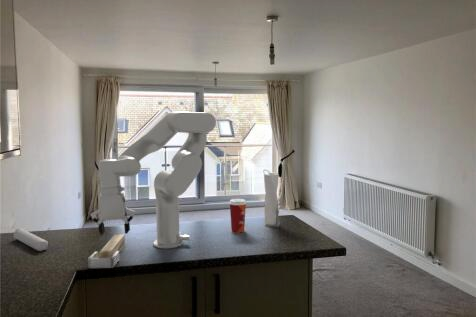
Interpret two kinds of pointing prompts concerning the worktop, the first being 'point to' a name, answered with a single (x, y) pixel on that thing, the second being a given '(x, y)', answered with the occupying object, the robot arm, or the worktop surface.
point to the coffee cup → (237, 214)
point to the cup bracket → (103, 261)
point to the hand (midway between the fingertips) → (114, 233)
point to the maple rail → (113, 246)
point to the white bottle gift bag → (271, 199)
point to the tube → (30, 239)
